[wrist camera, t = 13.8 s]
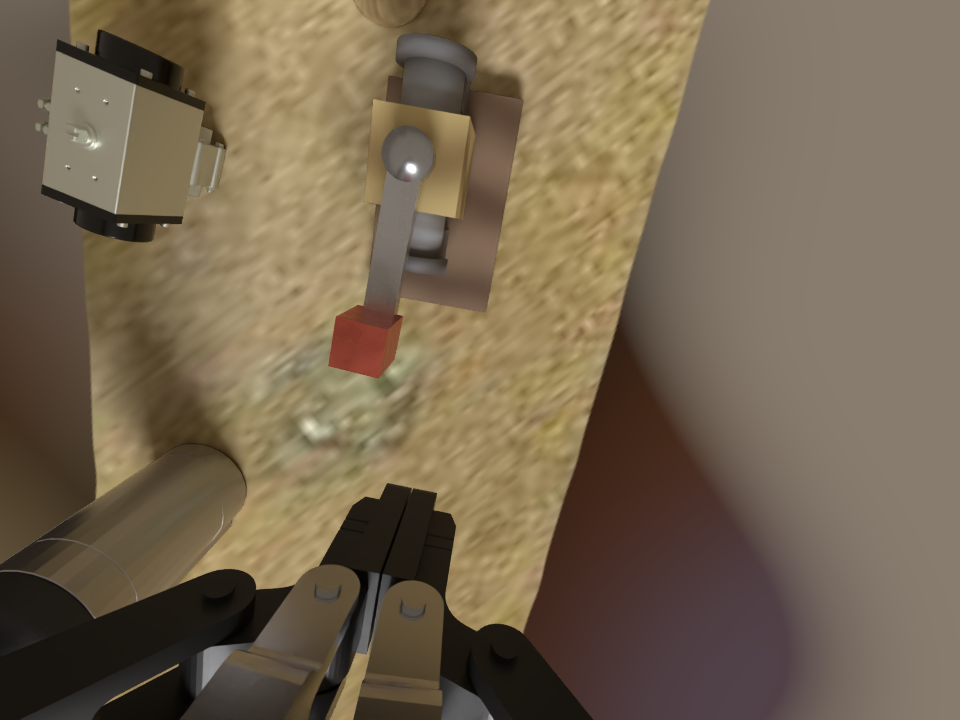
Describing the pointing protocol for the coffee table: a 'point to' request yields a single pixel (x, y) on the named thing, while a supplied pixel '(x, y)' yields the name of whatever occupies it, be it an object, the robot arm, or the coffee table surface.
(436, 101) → the valve pipe
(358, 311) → the valve lever
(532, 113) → the coffee table surface
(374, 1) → the beer glass
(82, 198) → the pneumatic valve
